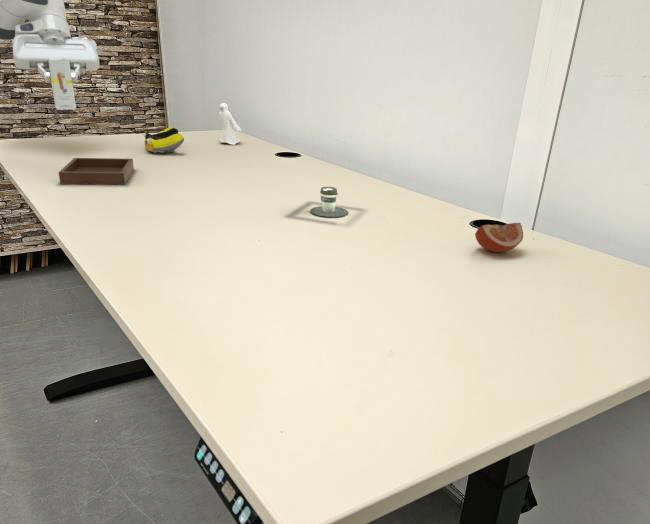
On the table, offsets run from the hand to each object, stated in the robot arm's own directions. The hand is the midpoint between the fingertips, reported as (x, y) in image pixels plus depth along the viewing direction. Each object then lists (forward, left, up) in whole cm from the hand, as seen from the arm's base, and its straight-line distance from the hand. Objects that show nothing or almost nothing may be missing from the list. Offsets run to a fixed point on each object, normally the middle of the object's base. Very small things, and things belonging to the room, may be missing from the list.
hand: (61, 80), depth 150 cm
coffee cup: (+61, -55, -18) cm, 84 cm away
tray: (+12, -26, -18) cm, 34 cm away
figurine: (+43, +21, -18) cm, 51 cm away
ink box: (0, +1, -7) cm, 7 cm away
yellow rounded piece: (+24, +7, -18) cm, 31 cm away
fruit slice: (+87, -79, -18) cm, 119 cm away
